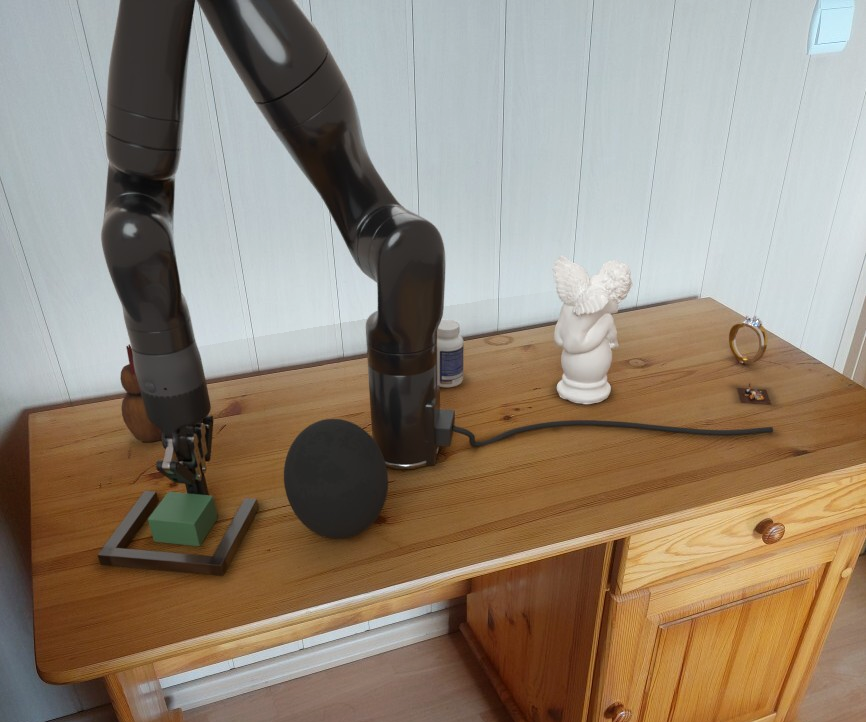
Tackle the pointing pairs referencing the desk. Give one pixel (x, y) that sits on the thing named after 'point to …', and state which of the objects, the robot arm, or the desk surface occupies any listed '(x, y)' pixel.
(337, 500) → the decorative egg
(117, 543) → the frame
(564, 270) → the cherub figurine
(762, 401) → the diorama
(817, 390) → the desk surface
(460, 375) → the pill bottle
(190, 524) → the green block
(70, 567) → the desk surface
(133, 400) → the wooden figurine
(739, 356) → the ring
